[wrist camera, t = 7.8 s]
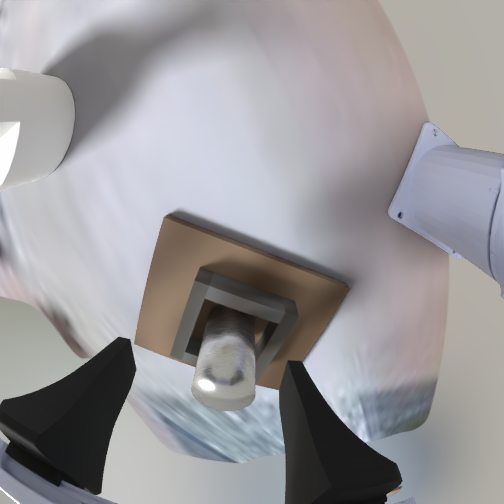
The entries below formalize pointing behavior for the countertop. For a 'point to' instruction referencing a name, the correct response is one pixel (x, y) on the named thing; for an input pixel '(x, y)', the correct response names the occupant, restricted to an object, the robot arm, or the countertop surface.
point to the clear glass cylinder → (226, 361)
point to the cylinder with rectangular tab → (32, 125)
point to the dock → (232, 298)
